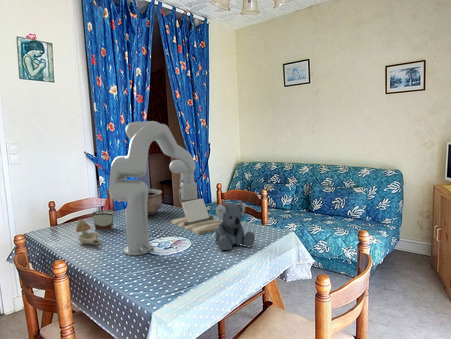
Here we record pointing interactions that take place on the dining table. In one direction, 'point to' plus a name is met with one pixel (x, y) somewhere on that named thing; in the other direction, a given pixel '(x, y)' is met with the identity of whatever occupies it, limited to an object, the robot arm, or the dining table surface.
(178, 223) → the tile stand
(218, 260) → the dining table surface
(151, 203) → the ceramic bowl
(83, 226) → the oil lamp
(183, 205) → the tile
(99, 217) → the food container
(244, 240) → the koala plush
